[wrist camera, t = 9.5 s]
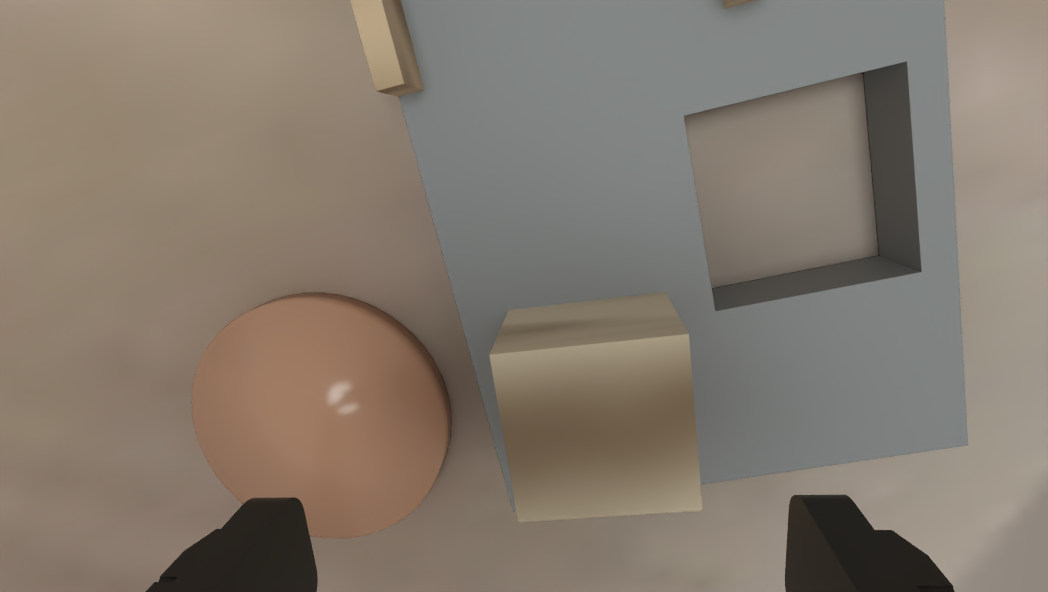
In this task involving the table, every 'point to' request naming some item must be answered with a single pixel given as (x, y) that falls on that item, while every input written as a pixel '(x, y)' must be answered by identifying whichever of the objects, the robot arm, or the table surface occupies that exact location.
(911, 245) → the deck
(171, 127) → the table surface
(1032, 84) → the table surface
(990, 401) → the table surface
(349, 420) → the saucer
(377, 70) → the frame
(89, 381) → the table surface
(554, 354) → the block
